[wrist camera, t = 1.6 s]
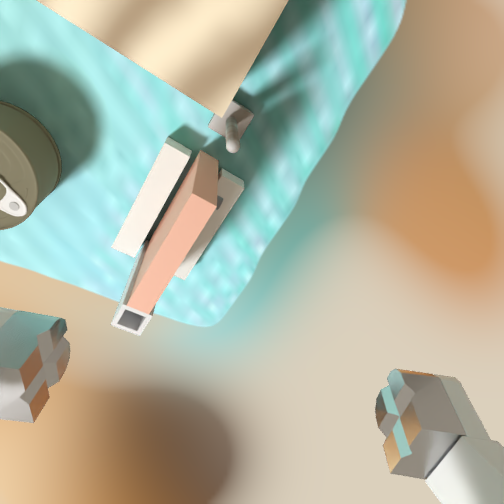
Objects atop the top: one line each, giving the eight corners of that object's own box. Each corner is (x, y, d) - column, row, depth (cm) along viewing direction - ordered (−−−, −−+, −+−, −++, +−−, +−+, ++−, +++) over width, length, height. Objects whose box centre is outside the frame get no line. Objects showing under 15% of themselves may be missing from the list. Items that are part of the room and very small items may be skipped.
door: (136, 257, 49) (110, 325, 37) (197, 147, 41) (187, 190, 30) (165, 270, 50) (148, 339, 39) (228, 166, 43) (230, 213, 32)
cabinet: (60, 32, 35) (-8, 32, 25) (133, -193, 28) (80, -322, 18) (236, 141, 41) (240, 177, 31) (331, -18, 34) (377, -39, 24)
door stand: (116, 237, 47) (111, 247, 45) (167, 136, 41) (164, 142, 38) (186, 269, 50) (184, 280, 48) (243, 180, 44) (244, 188, 42)
